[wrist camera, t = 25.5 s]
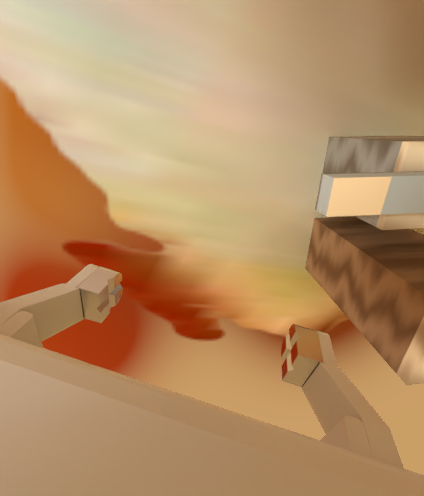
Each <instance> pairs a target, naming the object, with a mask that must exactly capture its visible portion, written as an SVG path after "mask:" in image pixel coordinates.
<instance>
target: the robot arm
mask: <svg viewBox="0 0 424 496" xmlns="http://www.w3.org/2000/svg"><path fill="white" fill-rule="evenodd" d="M121 280H122V274H121V273H118V272H115V271H112V270H109V269H106V268H103V267H99V266H96V265H93V264H90V265H87V266H86V267H85V268H84V269H83V270H81V271H80V272H79V273H78V274H77V275H76V276H74V277H73V278H72V279H71V280H70V281H69V282H67V283H66V284H59V285H56V286H53V287H49V288H46V289H43V290H39V291H36V292H33V293H30V294H27V295H23V296H20V297H17V298H13V299H10V300H7V301H4V302H1V303H0V496H424V475H421V474H418V473H415V472H412V471H409V470H406V469H404V468H403V465H402V462H401V459H400V457H399V454H398V451H397V448H396V445H395V442H394V440H393V437H392V434H391V431H390V429H389V427H388V426H387V424H386V423H385V422H384V421H383V419H382V418H381V417H380V416H379V415H378V413H377V412H376V411H375V410H374V409H373V407H372V406H371V405H370V404H369V402H368V401H367V400H366V399H365V398H364V396H363V395H362V394H361V393H360V391H359V390H358V389H357V388H356V387H355V385H354V384H353V383H352V382H351V380H350V379H349V378H348V377H347V376H346V375H345V373H344V372H343V371H342V369H340V368H337V364H336V360H335V356H334V352H333V348H332V344H331V340H330V336H329V335H328V334H327V333H323V332H320V331H315V330H312V329H309V328H305V327H302V326H298V325H295V324H293V325H292V326H291V327H290V329H289V335H287V336H286V337H285V339H284V341H283V344H282V350H281V356H282V359H283V360H284V363H283V365H282V380H283V381H285V382H288V383H291V384H294V385H297V386H300V387H302V390H303V391H304V394H305V395H306V397H307V399H308V401H309V403H310V405H311V407H312V409H313V410H314V413H315V414H316V416H317V418H318V420H319V422H320V424H321V426H322V428H323V429H324V431H325V433H326V435H325V436H324V437H323V438H322V439H321V440H320V441H319V440H316V439H313V438H310V437H307V436H304V435H301V434H298V433H295V432H292V431H289V430H286V429H283V428H280V427H277V426H274V425H271V424H268V423H265V422H262V421H259V420H256V419H253V418H250V417H247V416H244V415H241V414H238V413H235V412H232V411H229V410H226V409H224V408H220V407H218V406H214V405H211V404H209V403H205V402H202V401H199V400H196V399H194V398H190V397H188V396H185V395H182V394H179V393H175V392H172V391H170V390H167V389H164V388H161V387H158V386H155V385H152V384H149V383H146V382H143V381H140V380H137V379H134V378H131V377H128V376H125V375H122V374H119V373H116V372H113V371H110V370H107V369H104V368H101V367H98V366H95V365H92V364H89V363H86V362H83V361H80V360H77V359H74V358H71V357H68V356H65V355H62V354H59V353H56V352H53V351H50V350H47V349H44V348H43V345H42V341H44V340H46V339H47V338H49V337H51V336H53V335H55V334H57V333H59V332H61V331H62V330H64V329H66V328H68V327H70V326H72V325H74V324H76V323H78V322H79V321H81V320H83V319H84V318H85V319H89V320H92V321H96V322H99V323H102V322H103V320H104V319H105V318H106V316H107V315H108V314H109V313H110V308H111V307H113V306H115V305H116V304H117V303H118V301H119V299H120V297H121V294H122V286H121V284H120V282H121Z"/></svg>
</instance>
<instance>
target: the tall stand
mask: <svg viewBox="0 0 424 496" xmlns="http://www.w3.org/2000/svg"><path fill="white" fill-rule="evenodd" d="M306 270H307V271H308V272H309V273H310V274H311V275H312V276H313V278H314V279H315V280H316V281H317V282H318V283H319V285H320V286H321V287H322V288H323V289H324V290H325V291H326V293H327V294H328V295H329V296H330V297H331V298H332V300H333V301H334V302H335V303H336V304H337V305H338V307H339V308H340V309H341V310H342V311H343V312H344V313H345V315H346V316H347V317H348V318H349V319H350V320H351V322H353V324H354V325H355V326H356V327H357V329H358V330H359V331H360V332H361V333H362V334H363V335H364V336H365V338H366V339H367V340H368V341H369V342H370V344H371V345H372V346H373V347H374V348H375V349H376V350H377V352H378V353H379V354H380V355H381V356H382V357H383V359H384V360H385V361H386V362H387V363H388V364H389V366H390V367H391V368H392V369H393V370H394V371H395V372H396V374H397V375H398V376H399V377H400V378H401V379H402V381H403V382H404V383H405V384H406V385H412V384H422V383H424V235H422V234H420V233H417V232H415V231H413V230H411V229H395V230H381V229H379V228H377V227H375V226H373V225H371V224H369V223H367V222H365V221H363V220H361V219H359V218H357V217H355V216H353V217H331V218H315V219H314V224H313V230H312V235H311V241H310V246H309V252H308V257H307V262H306Z"/></svg>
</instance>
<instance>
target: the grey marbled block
mask: <svg viewBox="0 0 424 496" xmlns="http://www.w3.org/2000/svg"><path fill="white" fill-rule="evenodd" d="M414 171H424V137H423V136H363V137H329V142H328V148H327V153H326V159H325V164H324V169H323V174H330V173H372V172H414ZM355 217H357V218H359V219H361V220H363V221H365V222H367V223H369V224H371V225H373V226H375V227H377V228H379V229H381V230H395V229H414V228H424V213H406V214H380V215H361V216H355Z"/></svg>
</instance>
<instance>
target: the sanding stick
mask: <svg viewBox="0 0 424 496" xmlns="http://www.w3.org/2000/svg"><path fill="white" fill-rule="evenodd" d="M315 210H317V211H318V212H320V213H322V214H323V215H325V216H326V217H333V216H361V215H380V214H406V213H424V171H414V172H372V173H330V174H322V175H321V181H320V186H319V192H318V197H317V203H316V208H315Z"/></svg>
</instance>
